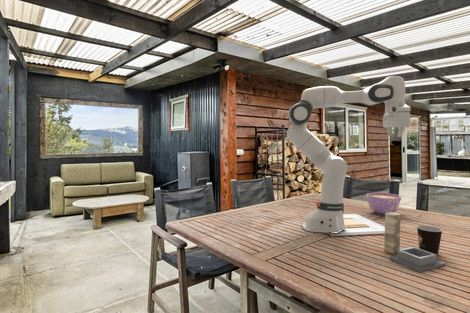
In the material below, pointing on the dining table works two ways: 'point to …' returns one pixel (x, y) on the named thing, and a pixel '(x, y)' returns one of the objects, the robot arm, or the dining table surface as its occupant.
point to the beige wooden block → (392, 232)
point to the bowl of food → (383, 202)
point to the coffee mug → (429, 238)
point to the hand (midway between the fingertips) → (395, 136)
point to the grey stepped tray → (417, 259)
